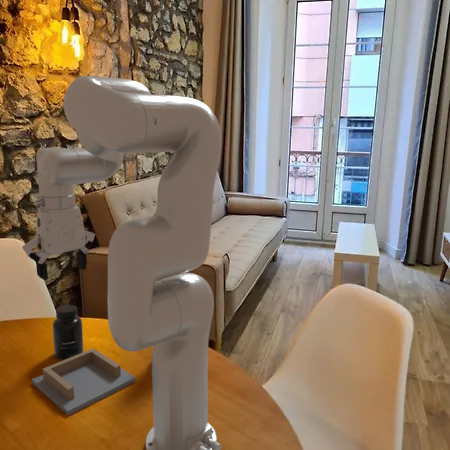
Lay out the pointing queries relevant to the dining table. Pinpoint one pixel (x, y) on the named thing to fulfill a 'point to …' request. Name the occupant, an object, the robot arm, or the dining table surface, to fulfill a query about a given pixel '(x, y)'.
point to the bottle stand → (82, 380)
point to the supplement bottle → (67, 332)
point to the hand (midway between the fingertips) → (63, 273)
